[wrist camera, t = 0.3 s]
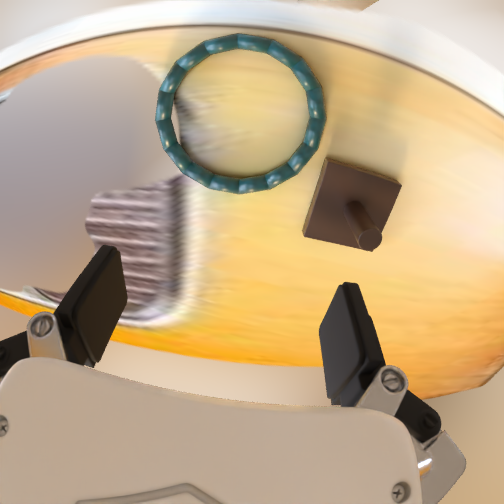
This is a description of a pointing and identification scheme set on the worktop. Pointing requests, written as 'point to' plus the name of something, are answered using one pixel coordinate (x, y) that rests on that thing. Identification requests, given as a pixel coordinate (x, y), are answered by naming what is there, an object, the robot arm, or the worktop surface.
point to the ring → (256, 182)
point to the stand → (350, 206)
